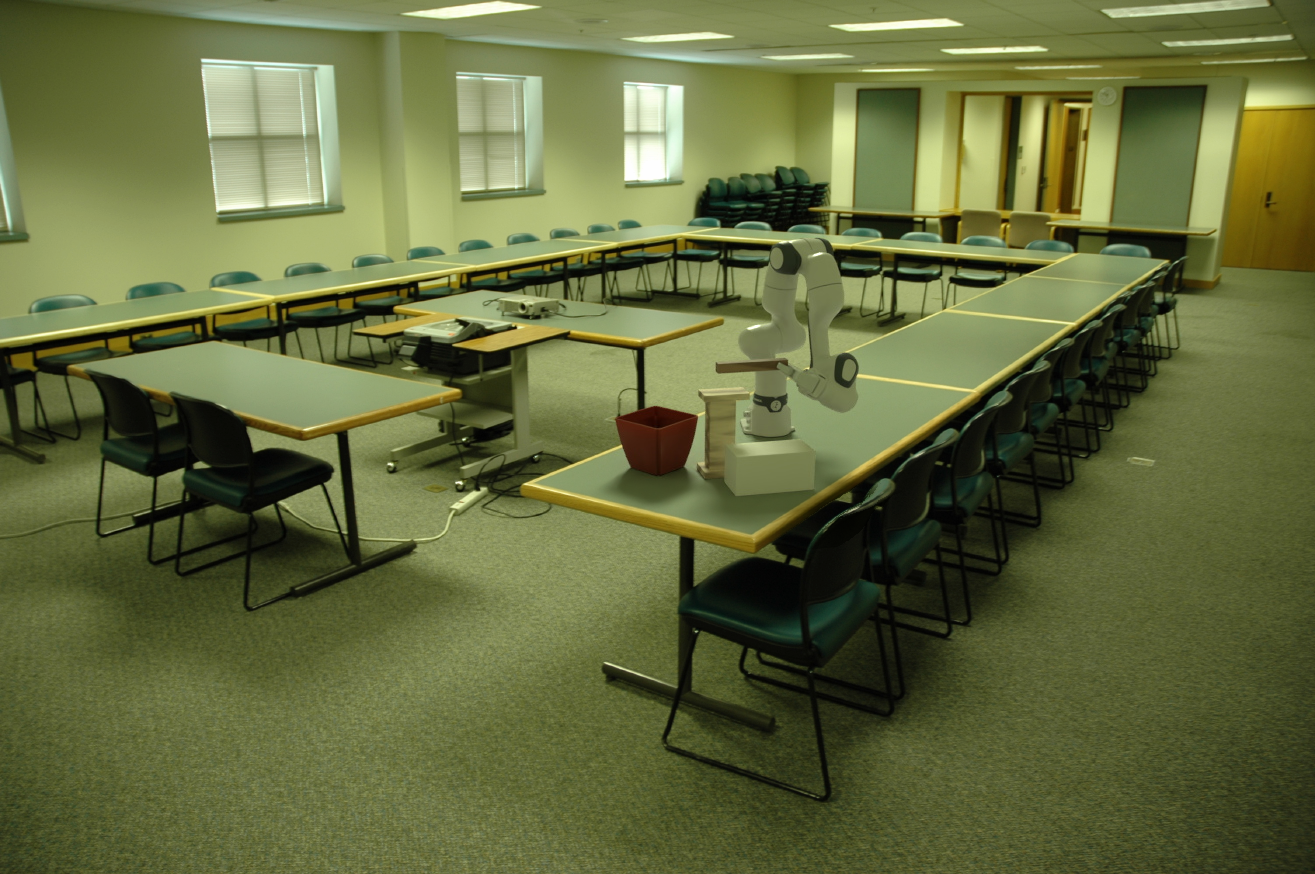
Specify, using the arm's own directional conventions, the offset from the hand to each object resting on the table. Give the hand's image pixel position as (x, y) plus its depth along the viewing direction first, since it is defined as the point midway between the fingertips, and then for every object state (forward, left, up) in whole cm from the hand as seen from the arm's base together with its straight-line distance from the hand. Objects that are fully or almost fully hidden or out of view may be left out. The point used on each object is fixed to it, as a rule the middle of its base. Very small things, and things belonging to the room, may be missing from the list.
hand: (774, 362), depth 280 cm
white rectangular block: (+15, -6, -34) cm, 38 cm away
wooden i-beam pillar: (0, -16, -34) cm, 38 cm away
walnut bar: (0, -7, -2) cm, 7 cm away
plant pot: (-9, -35, -34) cm, 50 cm away
